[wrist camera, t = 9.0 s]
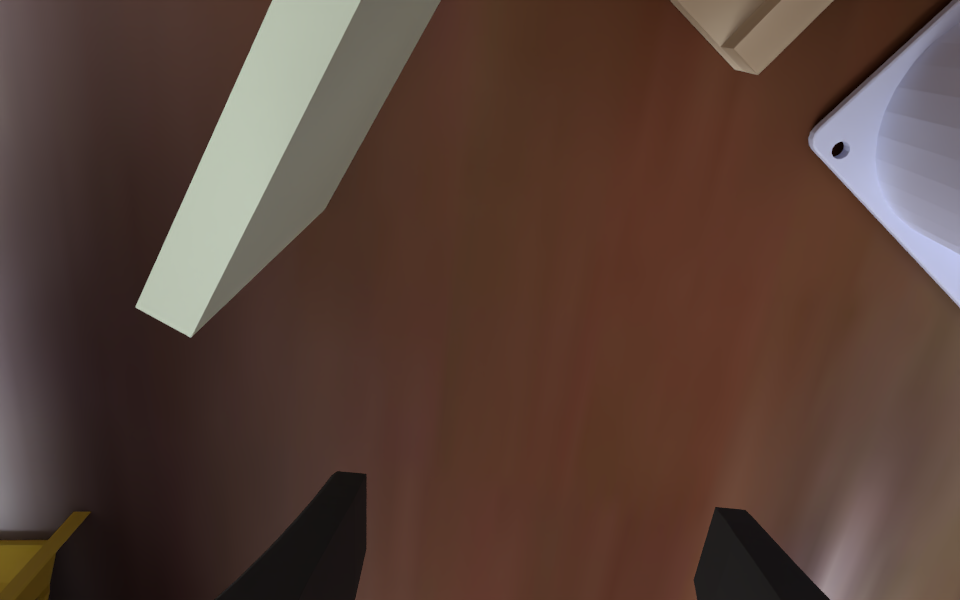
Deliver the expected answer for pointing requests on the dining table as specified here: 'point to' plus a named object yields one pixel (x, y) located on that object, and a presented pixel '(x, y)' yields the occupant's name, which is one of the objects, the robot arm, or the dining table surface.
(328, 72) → the sheet
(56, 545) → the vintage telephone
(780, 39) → the offcut rack
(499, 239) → the dining table surface
